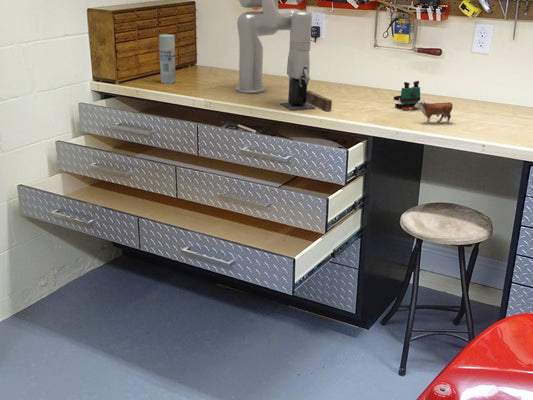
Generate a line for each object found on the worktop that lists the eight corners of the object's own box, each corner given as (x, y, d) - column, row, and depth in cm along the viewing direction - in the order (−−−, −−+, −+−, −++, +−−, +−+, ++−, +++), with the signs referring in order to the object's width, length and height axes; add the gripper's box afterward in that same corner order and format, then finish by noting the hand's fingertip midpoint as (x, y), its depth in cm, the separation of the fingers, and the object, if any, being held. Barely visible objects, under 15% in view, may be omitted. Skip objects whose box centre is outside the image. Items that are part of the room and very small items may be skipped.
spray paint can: (158, 83, 273) (156, 35, 266) (163, 80, 279) (162, 34, 272) (172, 84, 272) (171, 36, 265) (177, 81, 278) (176, 34, 271)
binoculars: (407, 79, 246) (425, 81, 237) (406, 106, 249) (423, 109, 240) (389, 80, 242) (406, 82, 233) (388, 108, 245) (405, 111, 236)
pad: (279, 104, 242) (279, 103, 242) (303, 102, 246) (303, 101, 246) (291, 110, 233) (291, 109, 233) (315, 108, 237) (315, 107, 237)
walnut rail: (304, 100, 249) (304, 90, 248) (308, 100, 250) (309, 90, 248) (326, 111, 234) (327, 100, 232) (331, 111, 235) (331, 100, 233)
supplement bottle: (304, 105, 236) (306, 73, 231) (286, 104, 237) (288, 72, 232) (307, 101, 242) (309, 70, 237) (289, 100, 243) (291, 69, 239)
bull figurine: (411, 121, 224) (414, 98, 221) (448, 121, 225) (451, 98, 222) (415, 124, 220) (418, 101, 217) (453, 124, 221) (456, 101, 218)
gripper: (280, 43, 237) (278, 90, 244) (301, 50, 223) (298, 100, 229) (298, 42, 240) (296, 89, 247) (320, 49, 226) (317, 99, 232)
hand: (297, 94), depth 238 cm, fingers closed on supplement bottle, 6 cm apart
